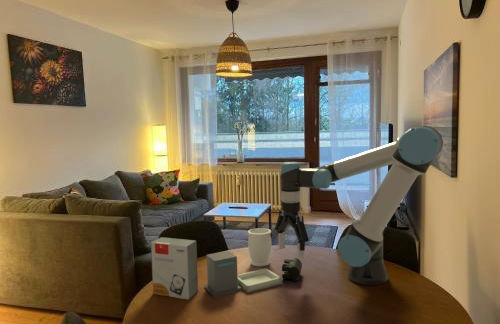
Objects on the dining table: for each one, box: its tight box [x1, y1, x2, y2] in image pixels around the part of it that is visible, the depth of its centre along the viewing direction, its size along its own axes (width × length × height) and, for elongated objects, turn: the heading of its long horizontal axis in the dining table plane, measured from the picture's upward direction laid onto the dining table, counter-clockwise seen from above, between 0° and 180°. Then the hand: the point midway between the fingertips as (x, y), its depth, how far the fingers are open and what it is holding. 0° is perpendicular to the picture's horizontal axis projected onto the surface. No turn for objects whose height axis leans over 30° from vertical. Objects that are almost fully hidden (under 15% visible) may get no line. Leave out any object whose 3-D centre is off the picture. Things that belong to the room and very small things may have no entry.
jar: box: [247, 227, 272, 267], centre depth 168 cm, size 11×10×15 cm
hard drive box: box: [150, 237, 199, 301], centre depth 139 cm, size 16×8×20 cm, turn 70°
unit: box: [203, 250, 243, 298], centre depth 142 cm, size 10×11×13 cm
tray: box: [237, 267, 283, 293], centre depth 147 cm, size 12×15×2 cm
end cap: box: [281, 257, 303, 283], centre depth 151 cm, size 10×7×7 cm
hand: (291, 253), depth 151 cm, fingers open, 13 cm apart
